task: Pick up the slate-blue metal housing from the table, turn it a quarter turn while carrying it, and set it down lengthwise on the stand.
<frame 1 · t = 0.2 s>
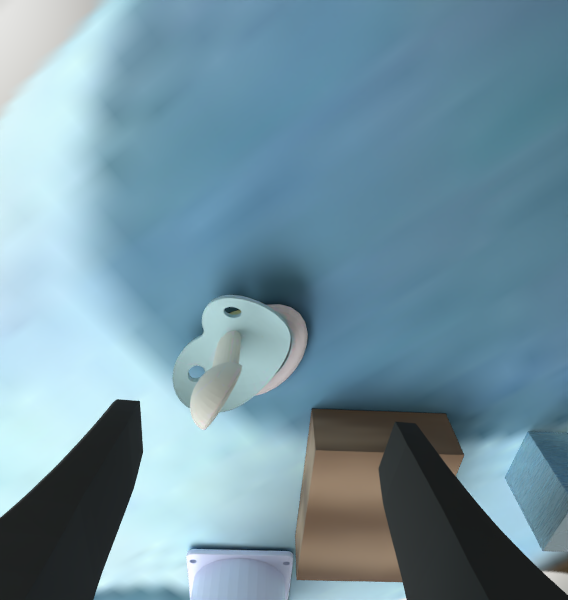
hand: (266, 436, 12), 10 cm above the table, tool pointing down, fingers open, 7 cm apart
pacifier: (247, 339, 23), on the table
stand: (362, 481, 29), on the table
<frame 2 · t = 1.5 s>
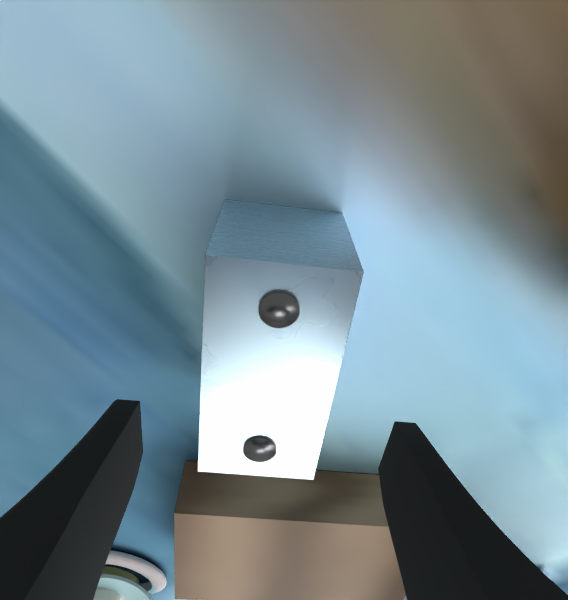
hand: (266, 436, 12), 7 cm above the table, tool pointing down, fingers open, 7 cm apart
pacifier: (117, 567, 29), on the table
stand: (296, 514, 26), on the table
housing: (271, 306, 19), on the table
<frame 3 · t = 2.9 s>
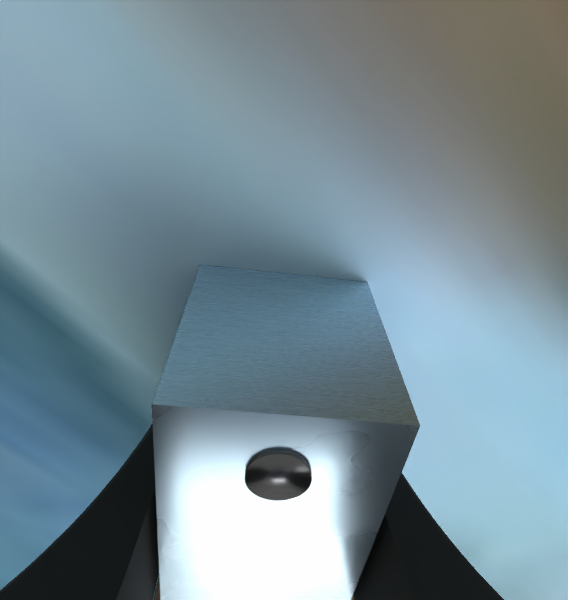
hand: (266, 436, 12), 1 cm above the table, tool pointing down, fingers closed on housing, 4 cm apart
housing: (267, 400, 14), on the table, touching gripper
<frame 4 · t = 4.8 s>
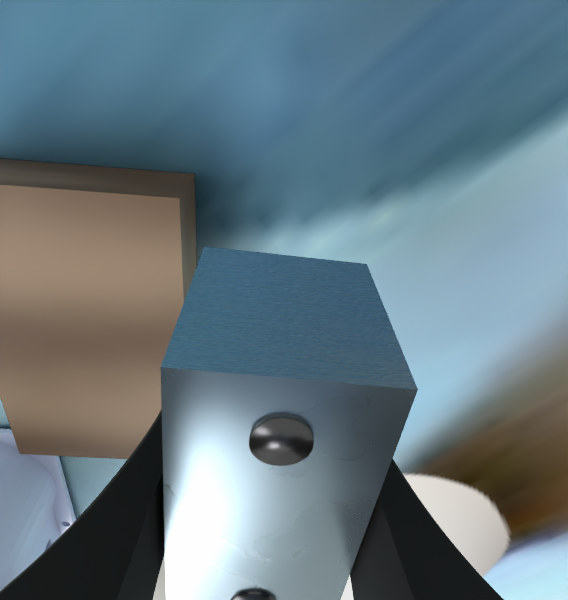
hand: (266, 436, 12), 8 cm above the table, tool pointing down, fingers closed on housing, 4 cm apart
stand: (110, 309, 20), on the table
housing: (268, 382, 14), point 6 cm above the table, touching gripper
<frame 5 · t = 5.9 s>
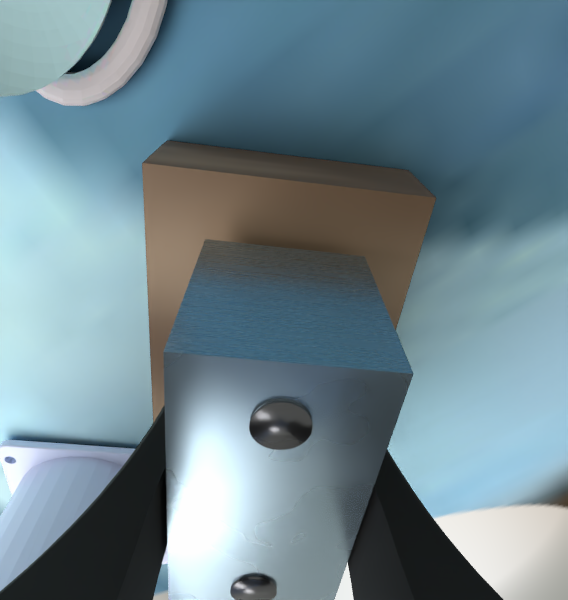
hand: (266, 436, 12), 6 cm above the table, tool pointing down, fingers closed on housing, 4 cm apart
stand: (269, 319, 18), on the table
housing: (268, 374, 14), point 4 cm above the table, touching gripper
when the fingers open (6 cm above the table, at t = 6.7 s): housing stays where it is, resting on stand.
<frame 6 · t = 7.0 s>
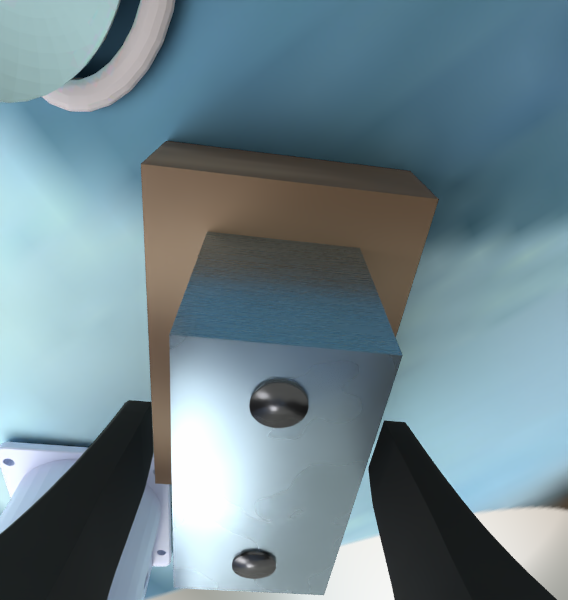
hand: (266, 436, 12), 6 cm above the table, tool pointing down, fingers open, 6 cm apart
stand: (269, 321, 17), on the table
housing: (268, 362, 15), point 3 cm above the table, touching stand
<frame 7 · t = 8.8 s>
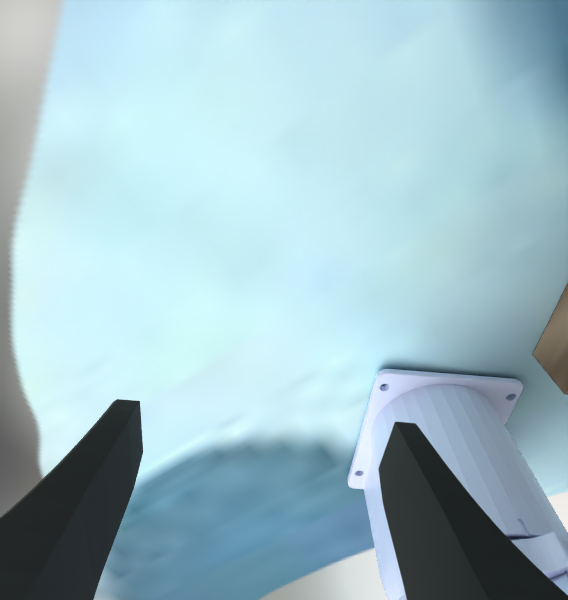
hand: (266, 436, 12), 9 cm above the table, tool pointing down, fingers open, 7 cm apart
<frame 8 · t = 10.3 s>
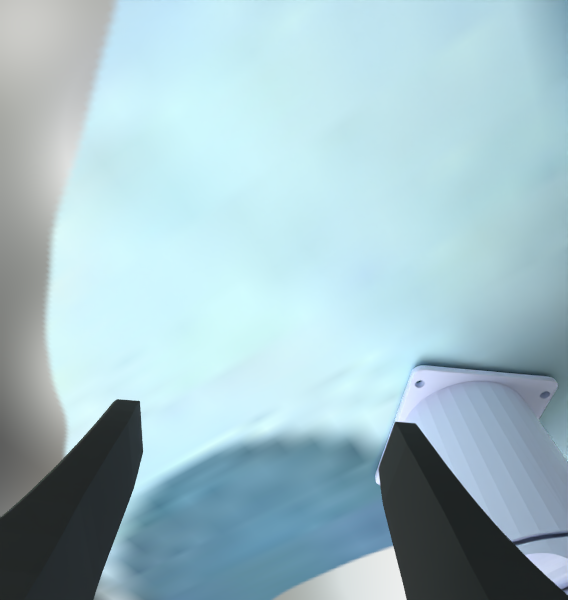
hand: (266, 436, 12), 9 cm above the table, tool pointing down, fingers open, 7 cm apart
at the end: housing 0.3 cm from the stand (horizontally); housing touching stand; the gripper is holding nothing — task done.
